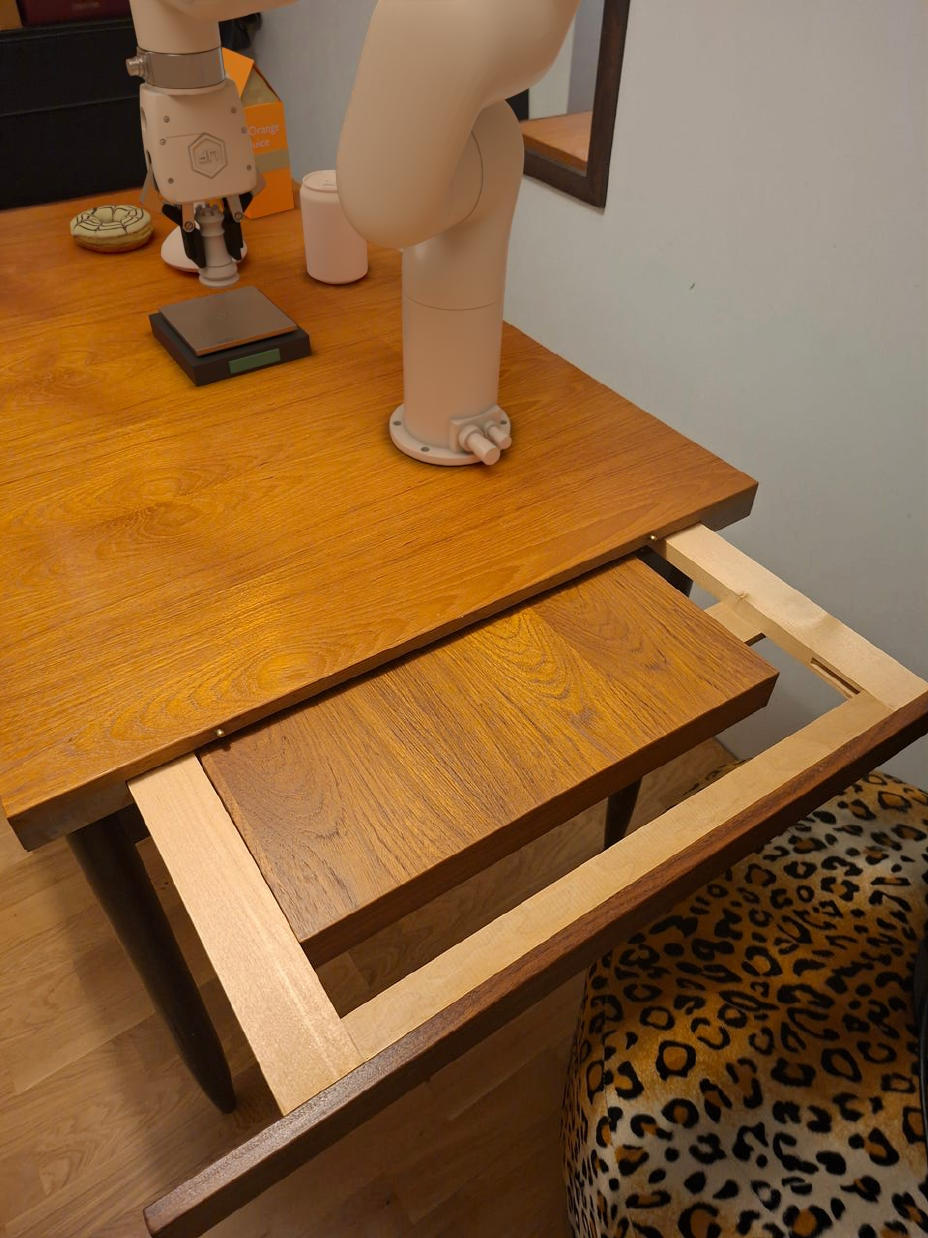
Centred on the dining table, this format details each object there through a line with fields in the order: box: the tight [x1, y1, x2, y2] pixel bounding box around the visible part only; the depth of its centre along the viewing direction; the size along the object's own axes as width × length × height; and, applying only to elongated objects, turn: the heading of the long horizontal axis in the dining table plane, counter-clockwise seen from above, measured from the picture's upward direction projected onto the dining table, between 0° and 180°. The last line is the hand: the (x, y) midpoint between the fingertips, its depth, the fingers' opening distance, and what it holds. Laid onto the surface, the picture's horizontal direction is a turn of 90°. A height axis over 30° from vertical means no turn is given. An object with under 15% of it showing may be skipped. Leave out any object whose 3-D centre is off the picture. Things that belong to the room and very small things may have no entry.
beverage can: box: [299, 169, 369, 285], centre depth 113 cm, size 8×8×12 cm
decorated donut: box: [69, 204, 154, 253], centre depth 121 cm, size 10×11×4 cm
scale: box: [148, 288, 312, 387], centre depth 102 cm, size 14×14×2 cm
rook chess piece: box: [194, 202, 240, 290], centre depth 94 cm, size 4×4×8 cm
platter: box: [157, 285, 297, 356], centre depth 100 cm, size 12×12×1 cm
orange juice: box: [221, 47, 295, 220], centre depth 126 cm, size 8×9×20 cm
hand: (216, 257), depth 95 cm, fingers closed on rook chess piece, 3 cm apart
